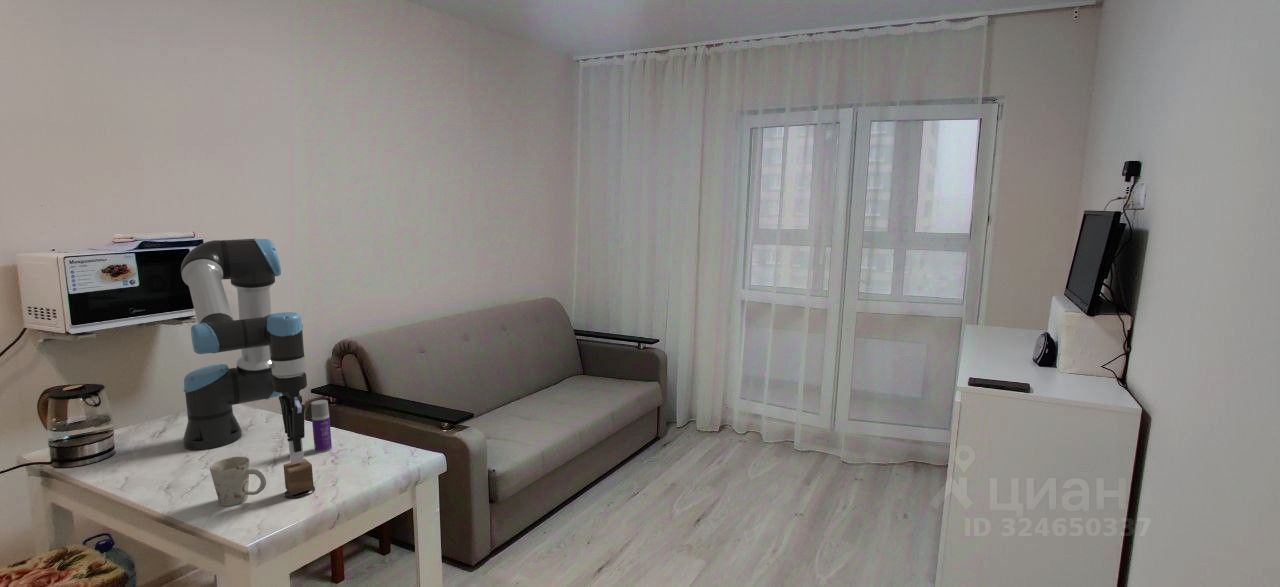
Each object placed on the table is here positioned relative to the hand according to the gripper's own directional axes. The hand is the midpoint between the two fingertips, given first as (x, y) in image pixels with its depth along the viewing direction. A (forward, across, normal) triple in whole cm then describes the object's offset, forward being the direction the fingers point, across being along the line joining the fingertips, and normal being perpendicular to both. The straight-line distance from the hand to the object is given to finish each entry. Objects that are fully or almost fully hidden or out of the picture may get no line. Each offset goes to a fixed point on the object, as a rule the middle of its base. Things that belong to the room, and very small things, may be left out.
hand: (297, 462), depth 160 cm
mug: (+9, -6, -12) cm, 15 cm away
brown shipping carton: (+7, 0, 0) cm, 7 cm away
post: (+8, 0, 0) cm, 8 cm away
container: (+9, -25, +14) cm, 30 cm away
